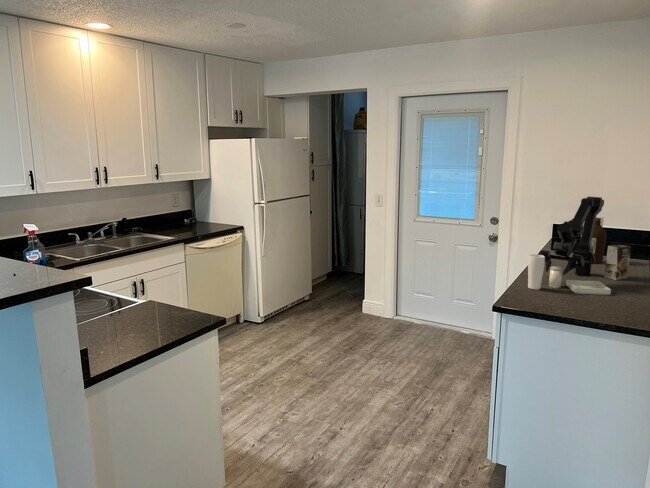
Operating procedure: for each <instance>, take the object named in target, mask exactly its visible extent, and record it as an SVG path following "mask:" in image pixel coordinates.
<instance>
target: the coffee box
mask: <svg viewBox="0 0 650 488" xmlns="http://www.w3.org/2000/svg"><path fill="white" fill-rule="evenodd" d="M631 250H632V246H631V245H626V244H611V245H607V251H606V258H605V260H606V261H605V268H604V274H603V275H604V276H603V277H604V278H606V279H609V280H610V279H611V280H614V281H618V280H620V281H621V280H624V279H628V273H629V267H630V266H629V264H630V257H631Z"/></svg>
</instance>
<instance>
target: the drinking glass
mask: <svg viewBox="0 0 650 488" xmlns="http://www.w3.org/2000/svg"><path fill="white" fill-rule="evenodd" d="M545 265H546V263H545V256H543V255H539V254H529V255H528V261H527V272H528V273H527V275H528V276H527V288H528V289H530V290H535V291H536V290H541V288H542V281H543V275H544V269H545Z"/></svg>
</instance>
